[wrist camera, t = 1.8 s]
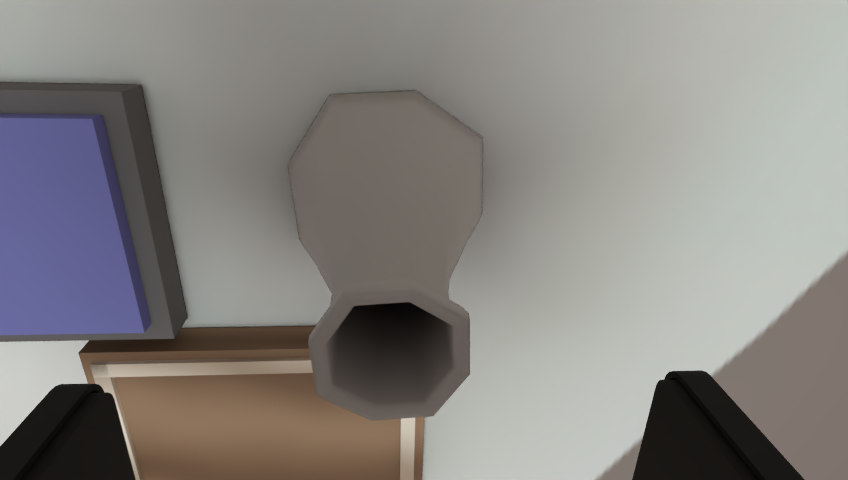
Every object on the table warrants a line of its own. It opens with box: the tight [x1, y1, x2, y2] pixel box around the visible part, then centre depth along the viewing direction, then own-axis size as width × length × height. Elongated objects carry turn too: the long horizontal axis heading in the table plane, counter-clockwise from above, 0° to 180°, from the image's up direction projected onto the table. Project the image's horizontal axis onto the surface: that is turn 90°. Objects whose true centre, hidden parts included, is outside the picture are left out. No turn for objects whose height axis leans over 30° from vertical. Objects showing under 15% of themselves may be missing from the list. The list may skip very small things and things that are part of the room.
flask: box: [288, 90, 483, 421], centre depth 14 cm, size 7×7×10 cm
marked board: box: [79, 326, 424, 480], centre depth 23 cm, size 13×13×2 cm
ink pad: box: [0, 82, 187, 342], centre depth 17 cm, size 9×9×2 cm
